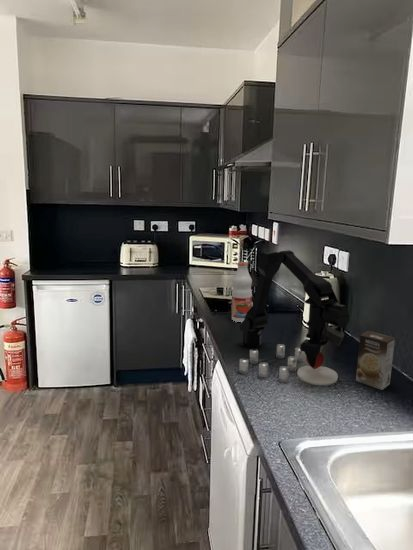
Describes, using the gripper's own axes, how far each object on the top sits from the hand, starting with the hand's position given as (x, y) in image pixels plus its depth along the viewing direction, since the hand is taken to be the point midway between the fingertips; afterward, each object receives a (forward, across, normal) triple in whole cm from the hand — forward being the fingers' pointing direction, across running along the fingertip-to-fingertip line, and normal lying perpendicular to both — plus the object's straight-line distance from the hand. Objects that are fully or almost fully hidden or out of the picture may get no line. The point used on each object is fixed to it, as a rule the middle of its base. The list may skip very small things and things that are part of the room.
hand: (314, 363), depth 140 cm
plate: (+4, 0, -1) cm, 5 cm away
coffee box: (+4, +4, -18) cm, 19 cm away
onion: (+2, 0, 0) cm, 2 cm away
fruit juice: (+5, +45, +45) cm, 64 cm away
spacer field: (+4, +1, +15) cm, 16 cm away
